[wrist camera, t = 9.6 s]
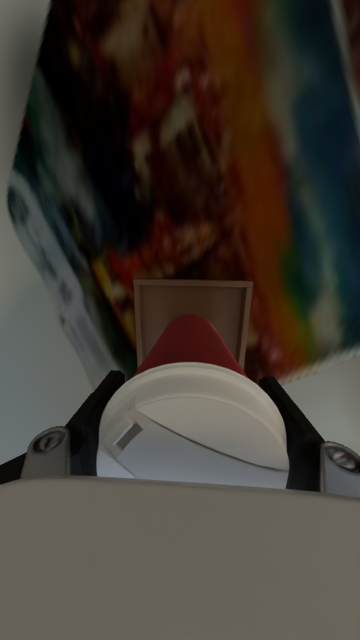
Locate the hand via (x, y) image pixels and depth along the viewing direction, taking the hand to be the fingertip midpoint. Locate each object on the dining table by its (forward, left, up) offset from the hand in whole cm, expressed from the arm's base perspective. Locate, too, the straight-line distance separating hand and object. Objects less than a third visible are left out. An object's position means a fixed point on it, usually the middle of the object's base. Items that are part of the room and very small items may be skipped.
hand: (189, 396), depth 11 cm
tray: (0, 0, -12) cm, 12 cm away
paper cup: (0, 0, -10) cm, 10 cm away
